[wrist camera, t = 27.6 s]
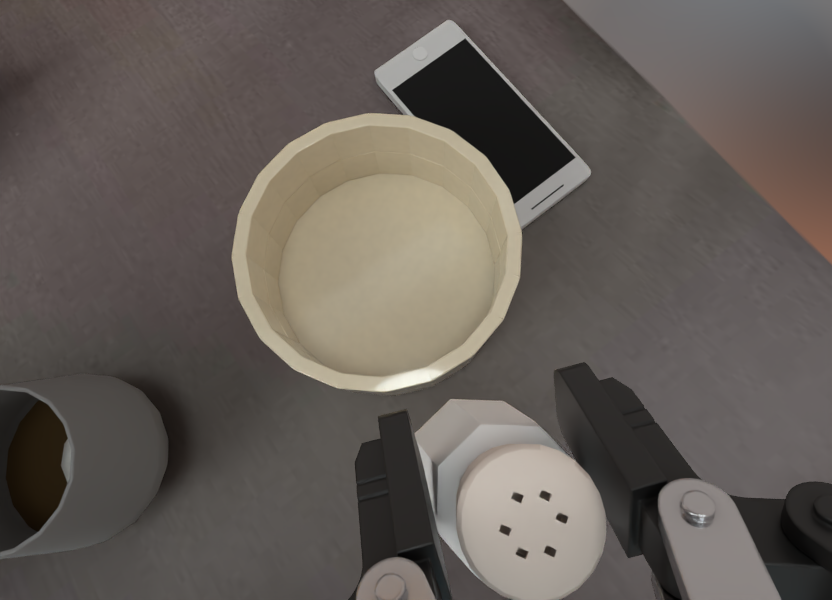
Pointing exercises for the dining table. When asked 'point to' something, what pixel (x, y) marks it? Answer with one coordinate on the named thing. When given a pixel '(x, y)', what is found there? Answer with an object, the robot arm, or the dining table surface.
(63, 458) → the cup
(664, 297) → the dining table surface
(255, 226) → the crock
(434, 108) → the smartphone
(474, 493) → the salt shaker
